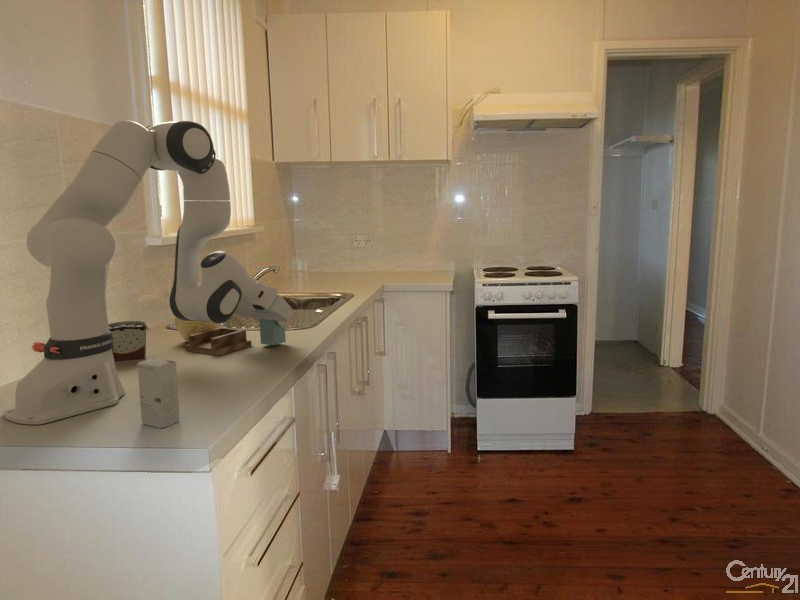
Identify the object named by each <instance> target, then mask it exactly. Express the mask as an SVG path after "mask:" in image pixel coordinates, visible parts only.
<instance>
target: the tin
mask: <svg viewBox="0 0 800 600" xmlns="http://www.w3.org/2000/svg"><path fill="white" fill-rule="evenodd" d="M259 320H260V322H259V334H260V344H261V345H266V346H267V345H269V346H276V345H279V344H280V345H281V344H282V343H286V340H287V339H286V323H285V324H284V326H283V327H279V326H278V325H277V324H276V322H277V321H274V320H265V319H259Z"/></svg>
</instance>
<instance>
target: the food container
mask: <svg viewBox="0 0 800 600" xmlns="http://www.w3.org/2000/svg"><path fill="white" fill-rule="evenodd" d="M108 324H109V330H110V331H111V332H112V338H113V346H114V351H113V357H114V362H117V363H126V362H125V361H129V362H138V361H139V362H142V361H145V360H147V354H146V353H147V332H149V328H148V327H149V326H148V325H147V323H146V322H145V321H141V320H127V321H117V322H111V323H108Z"/></svg>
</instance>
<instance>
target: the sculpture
mask: <svg viewBox="0 0 800 600" xmlns="http://www.w3.org/2000/svg"><path fill="white" fill-rule="evenodd" d="M174 323H175V329H176V330H177V331H178V332H179V334H180V336H181V338H182V339H183V340H184V341H186V342H187V343H189V335H192V334H196V333H200V332H204V331H208V330H212V329H215V328H219V323H211V322H201V321H183V320H180V319H178V318H177V317H176V316H174Z"/></svg>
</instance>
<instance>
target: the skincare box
mask: <svg viewBox="0 0 800 600" xmlns="http://www.w3.org/2000/svg"><path fill="white" fill-rule="evenodd" d="M177 372H178V371H177V361H175V360H170V359H167V358H159V357H151V358H149V359H146V360H141V361H139V362H137V375H138V387H139V388H138V389H139V403H140V414H141V416H140V417H141V423H142V424H144V425H147V426H149V427H154V428H158V429H164V427H165V428H168V427H170V426H172V425H174V423H175V424H176V422H177V423H178V422H179V421H180V405H179V389H178V375H177V374H178V373H177ZM169 425H170V426H169ZM167 426H168V427H167Z"/></svg>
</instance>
